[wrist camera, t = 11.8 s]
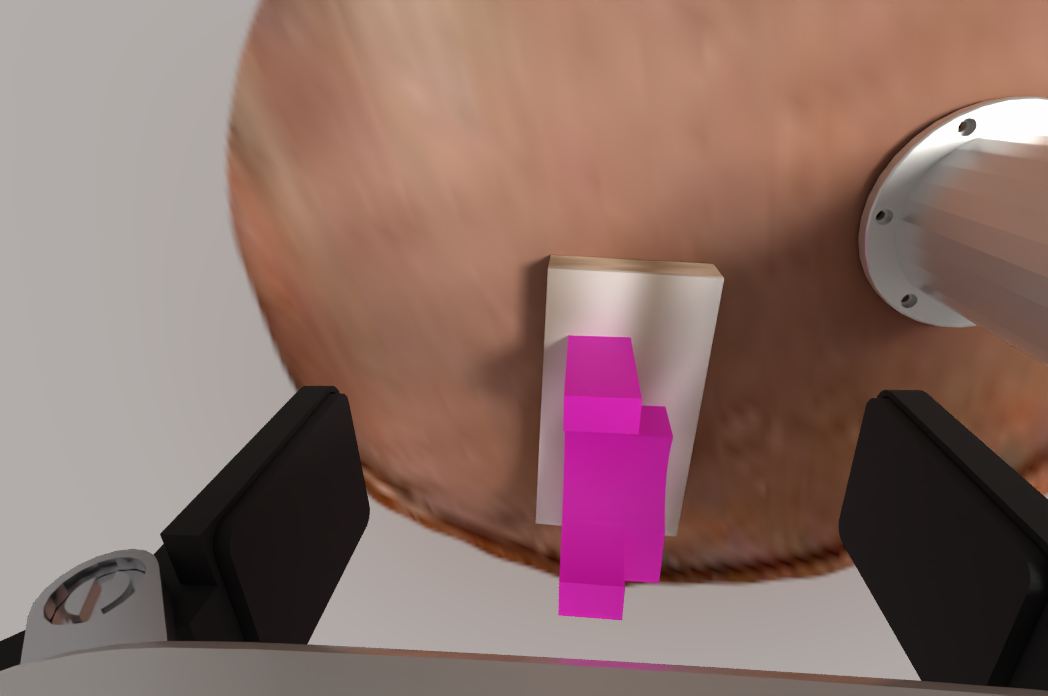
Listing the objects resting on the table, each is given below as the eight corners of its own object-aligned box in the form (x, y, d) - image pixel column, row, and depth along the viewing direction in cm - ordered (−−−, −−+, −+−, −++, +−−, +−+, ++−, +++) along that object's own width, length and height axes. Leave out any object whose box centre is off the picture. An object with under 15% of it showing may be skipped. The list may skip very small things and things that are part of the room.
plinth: (713, 263, 34) (724, 278, 32) (670, 508, 42) (676, 536, 40) (550, 254, 35) (547, 268, 32) (538, 496, 43) (535, 523, 40)
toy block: (651, 532, 40) (665, 623, 33) (563, 527, 40) (558, 615, 33) (672, 338, 33) (695, 401, 27) (568, 335, 34) (563, 395, 27)
